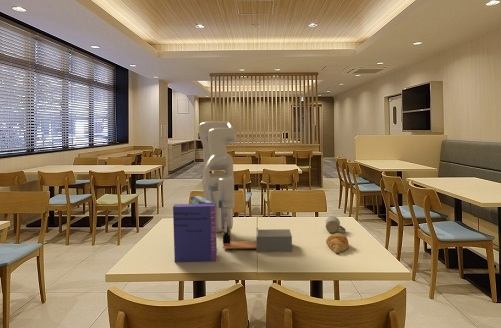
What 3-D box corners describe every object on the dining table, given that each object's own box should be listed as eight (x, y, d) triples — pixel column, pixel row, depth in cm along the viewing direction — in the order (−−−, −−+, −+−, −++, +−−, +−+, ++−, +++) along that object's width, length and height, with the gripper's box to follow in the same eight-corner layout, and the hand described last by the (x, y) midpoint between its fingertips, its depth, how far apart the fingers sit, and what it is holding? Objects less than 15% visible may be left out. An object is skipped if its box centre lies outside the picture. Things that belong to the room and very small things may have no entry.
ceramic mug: (325, 233, 196) (325, 219, 195) (325, 229, 204) (326, 215, 203) (345, 234, 193) (346, 220, 193) (345, 230, 201) (345, 216, 201)
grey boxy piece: (256, 251, 167) (256, 235, 166) (256, 243, 179) (256, 227, 179) (291, 251, 167) (291, 234, 166) (289, 243, 179) (289, 227, 178)
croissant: (343, 263, 162) (352, 248, 160) (323, 251, 163) (331, 236, 162) (343, 247, 182) (351, 233, 181) (325, 236, 184) (332, 223, 182)
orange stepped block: (222, 248, 169) (222, 232, 168) (223, 242, 178) (223, 227, 177) (257, 248, 169) (257, 232, 168) (257, 242, 177) (257, 227, 177)
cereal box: (216, 257, 160) (215, 203, 158) (216, 261, 156) (214, 205, 153) (176, 258, 160) (175, 203, 158) (174, 262, 155) (172, 206, 153)
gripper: (233, 207, 164) (233, 247, 165) (235, 200, 179) (235, 237, 181) (216, 207, 164) (217, 247, 165) (219, 200, 179) (220, 237, 181)
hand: (226, 242), depth 173 cm, fingers closed on orange stepped block
